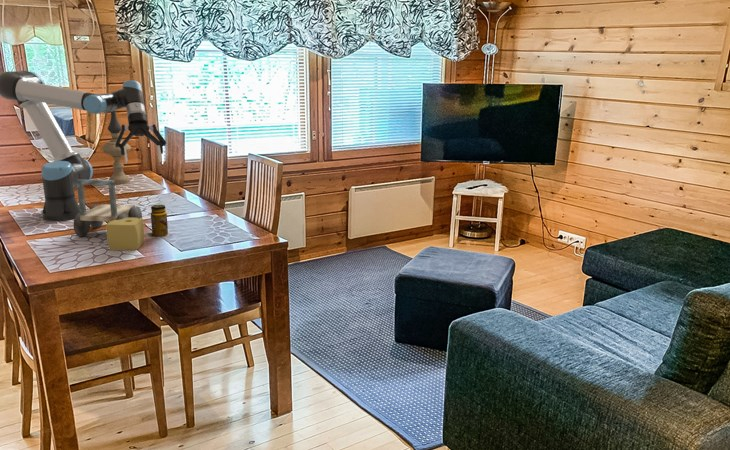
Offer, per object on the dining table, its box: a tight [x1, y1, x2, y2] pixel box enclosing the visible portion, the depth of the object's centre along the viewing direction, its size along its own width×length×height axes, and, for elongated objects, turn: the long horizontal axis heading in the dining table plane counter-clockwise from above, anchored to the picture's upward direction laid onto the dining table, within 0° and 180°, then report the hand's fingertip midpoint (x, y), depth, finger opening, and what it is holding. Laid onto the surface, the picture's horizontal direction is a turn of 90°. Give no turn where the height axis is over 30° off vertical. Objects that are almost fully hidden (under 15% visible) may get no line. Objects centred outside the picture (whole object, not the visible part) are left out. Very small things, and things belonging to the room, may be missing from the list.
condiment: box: [144, 204, 172, 240], centre depth 227 cm, size 7×8×12 cm
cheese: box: [105, 217, 145, 251], centre depth 213 cm, size 10×11×10 cm
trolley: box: [73, 179, 143, 237], centre depth 228 cm, size 18×21×23 cm
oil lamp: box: [101, 110, 132, 185], centre depth 314 cm, size 15×15×40 cm
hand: (143, 161), depth 241 cm, fingers open, 13 cm apart
